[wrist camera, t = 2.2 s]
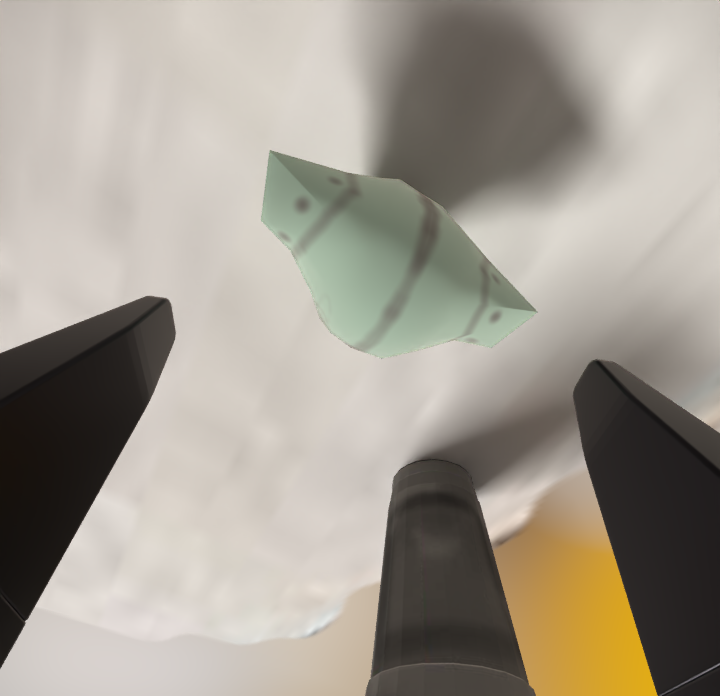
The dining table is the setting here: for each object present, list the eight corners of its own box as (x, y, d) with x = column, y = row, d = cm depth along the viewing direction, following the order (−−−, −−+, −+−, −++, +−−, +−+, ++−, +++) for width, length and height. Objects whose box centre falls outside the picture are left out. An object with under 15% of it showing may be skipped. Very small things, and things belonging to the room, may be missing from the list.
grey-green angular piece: (516, 226, 15) (584, 339, 10) (445, 309, 17) (468, 439, 12) (314, 91, 13) (257, 141, 8) (263, 206, 15) (191, 307, 10)
